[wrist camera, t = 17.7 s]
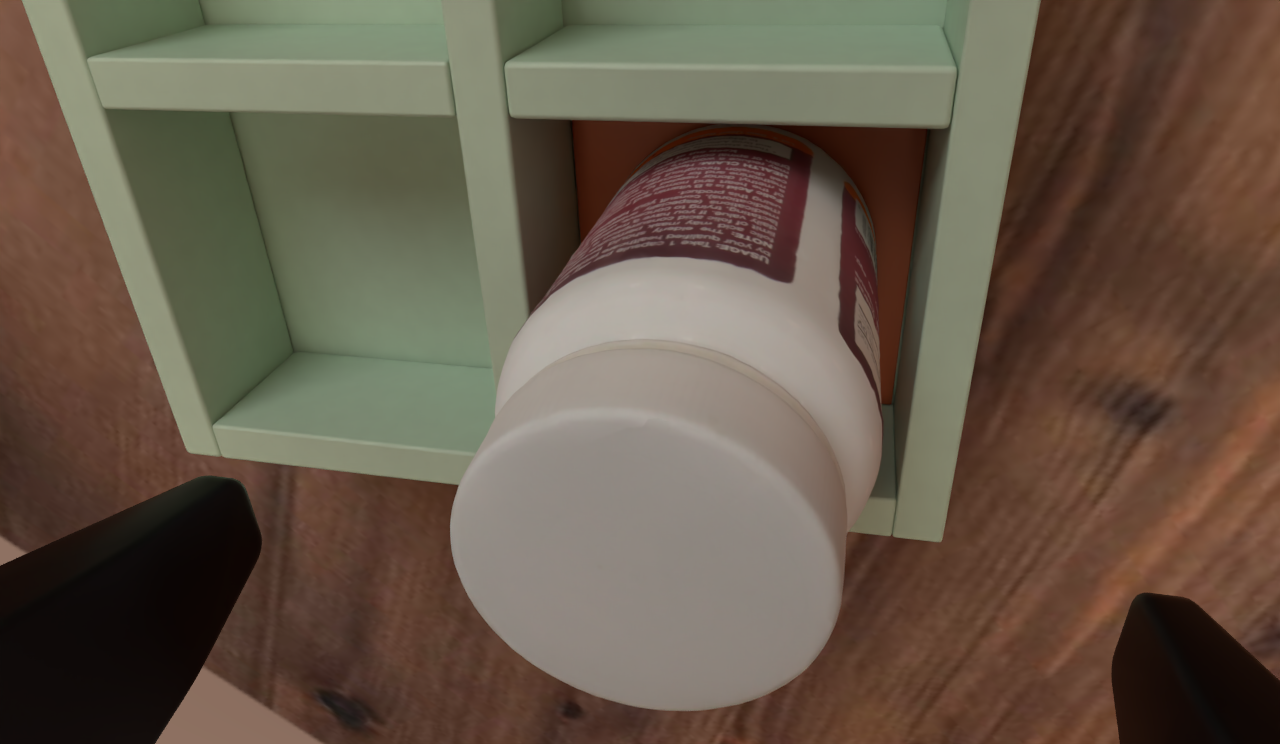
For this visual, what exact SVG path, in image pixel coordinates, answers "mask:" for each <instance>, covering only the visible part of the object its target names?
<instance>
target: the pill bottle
mask: <svg viewBox="0 0 1280 744" xmlns="http://www.w3.org/2000/svg"><path fill="white" fill-rule="evenodd" d="M878 311H879V304H878V284H877V252H876V240H875V232H874V227H873V223H872V219H871V216H870V213H869V211H868V208H867V206H866V204H865V201H864V199H863V197H862V195H861V194H860V192H859V190H858V188H857V187H856V185H855V184H854V182H853V181H852V179H851V178H850V177H849V176H848V174H847V173H846V172H845V171H844V170H843V168H842V167H841V166H840V165H839V164H838V163H837V162H835V161H834V160H833V159H832V158H831V157H830V156H829V155H828V154H827V153H826V152H824V151H823V150H822V149H821V148H819V147H818V146H816V145H814V144H813V143H811V142H810V141H808V140H807V139H805V138H803V137H800V136H798V135H796V134H793V133H791V132H788V131H785V130H782V129H779V128H775V127H770V126H765V125H755V124H716V125H711V126H706V127H702V128H698V129H695V130H692V131H689V132H687V133H684V134H682V135H680V136H678V137H676V138H674V139H672V140H670V141H668V142H666V143H665V144H663V145H662V146H660V147H659V148H658V149H656V150H655V151H653V152H652V153H651V154H650V155H649V156H648V157H647V158H645V159H644V160H643V161H642V162H641V163H640V164H639V165H638V166H637V167H636V168H635V170H634V171H633V172H632V173H631V175H630V176H629V177H628V179H627V180H626V181H625V183H624V184H623V186H622V187H621V188H620V189H619V191H618V192H617V193H616V195H615V196H614V198H613V199H612V201H611V202H610V203H609V205H608V206H607V208H606V209H605V211H604V212H603V214H602V215H601V217H600V218H599V219H598V221H597V222H596V224H595V225H594V227H593V228H592V229H591V231H590V232H589V233H588V235H587V236H586V238H585V239H584V241H583V242H582V243H581V245H580V246H579V248H578V249H577V250H576V251H575V253H574V254H573V255H572V256H571V258H570V260H569V261H568V263H567V265H566V266H565V267H564V269H563V270H562V272H561V273H560V275H559V276H558V278H557V279H556V280H555V282H554V283H553V285H552V286H551V288H550V289H549V290H548V292H547V293H546V295H545V296H544V297H543V298H542V300H541V301H540V302H539V303H538V304H537V306H536V307H535V308H534V310H533V311H532V312H531V314H530V316H529V317H528V319H527V320H526V322H525V323H524V325H523V326H522V327H521V329H520V330H519V332H518V333H517V335H516V336H515V338H514V340H513V341H512V344H511V346H510V348H509V351H508V354H507V357H506V360H505V362H504V365H503V368H502V372H501V376H500V380H499V383H498V388H497V396H496V404H495V419H494V421H493V423H492V425H491V426H490V429H489V431H488V433H487V435H486V437H485V439H484V440H483V442H482V444H481V445H480V447H479V449H478V451H477V452H476V454H475V456H474V458H473V459H472V461H471V463H470V465H469V466H468V468H467V470H466V472H465V473H464V475H463V477H462V479H461V481H460V484H459V487H458V490H457V493H456V496H455V499H454V503H453V507H452V512H451V521H450V536H451V548H452V554H453V559H454V563H455V567H456V569H457V572H458V574H459V577H460V579H461V582H462V584H463V586H464V588H465V590H466V592H467V594H468V596H469V598H470V600H471V601H472V603H473V605H474V606H475V608H476V609H477V610H478V612H479V613H480V614H481V616H482V617H483V618H484V620H485V621H486V622H487V624H488V625H489V626H490V627H491V628H492V630H493V631H494V632H495V633H496V634H497V635H498V636H499V637H501V638H502V639H503V640H504V641H505V642H506V643H507V644H508V645H509V646H510V647H511V648H512V649H513V650H514V651H515V652H517V653H518V654H520V655H521V656H522V657H523V658H525V659H526V660H527V661H529V662H530V663H532V664H533V665H535V666H536V667H538V668H539V669H541V670H543V671H544V672H546V673H548V674H550V675H551V676H553V677H555V678H557V679H559V680H561V681H563V682H565V683H567V684H569V685H571V686H573V687H575V688H577V689H579V690H582V691H585V692H587V693H589V694H591V695H594V696H597V697H601V698H604V699H606V700H611V701H615V702H618V703H621V704H625V705H630V706H634V707H640V708H647V709H655V710H668V711H700V710H709V709H715V708H722V707H728V706H733V705H738V704H742V703H744V702H748V701H752V700H754V699H757V698H759V697H762V696H764V695H767V694H769V693H771V692H773V691H774V690H776V689H778V688H780V687H782V686H784V685H786V684H787V683H789V682H790V681H792V680H793V679H794V678H796V677H797V676H799V675H800V674H801V673H802V672H803V671H805V670H806V669H807V668H808V667H809V666H810V664H811V663H812V662H813V661H814V660H815V659H816V658H817V656H818V655H819V654H820V652H821V651H822V650H823V648H824V646H825V644H826V643H827V641H828V639H829V637H830V635H831V633H832V631H833V629H834V627H835V624H836V621H837V618H838V615H839V611H840V607H841V601H842V592H843V583H844V570H845V553H846V537H847V533H848V531H849V530H850V529H851V528H852V526H853V525H854V524H855V522H856V521H857V519H858V518H859V516H860V514H861V512H862V511H863V509H864V507H865V505H866V503H867V501H868V499H869V496H870V494H871V492H872V489H873V487H874V485H875V482H876V479H877V475H878V472H879V468H880V463H881V458H882V444H883V416H882V406H881V382H880V340H879V315H878Z"/></svg>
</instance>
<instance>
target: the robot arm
mask: <svg viewBox="0 0 1280 744" xmlns="http://www.w3.org/2000/svg"><path fill="white" fill-rule="evenodd" d="M261 546H262V536H261V532H260V529H259V526H258V523H257V520H256V517H255V514H254V511H253V508H252V505H251V502H250V499H249V496H248V494H247V491H246V489H245V487H244V485H243V484H242V483H241V482H240V481H238V480H236V479H233V478H225V477H217V476H201V477H198V478H195V479H193V480H191V481H189V482H186V483H184V484H182V485H180V486H177V487H175V488H173V489H171V490H168V491H166V492H164V493H162V494H160V495H157V496H155V497H153V498H151V499H148V500H146V501H144V502H142V503H139V504H137V505H135V506H133V507H130V508H128V509H126V510H124V511H121V512H119V513H117V514H115V515H113V516H110V517H108V518H106V519H104V520H101V521H99V522H97V523H95V524H92V525H90V526H88V527H86V528H83V529H81V530H79V531H77V532H74V533H72V534H70V535H68V536H65V537H63V538H61V539H59V540H57V541H54V542H52V543H50V544H48V545H45V546H43V547H41V548H39V549H36V550H34V551H32V552H30V553H27V554H25V555H23V556H21V557H19V558H16V559H14V560H12V561H10V562H7V563H5V564H3V565H1V566H0V744H155V743H156V741H157V739H158V738H159V736H160V735H161V733H162V732H163V730H164V729H165V727H166V725H167V724H168V722H169V721H170V719H171V718H172V716H173V715H174V713H175V711H176V710H177V708H178V707H179V705H180V704H181V702H182V700H183V699H184V697H185V696H186V694H187V692H188V691H189V689H190V687H191V686H192V684H193V683H194V681H195V679H196V677H197V676H198V674H199V672H200V670H201V668H202V666H203V665H204V663H205V661H206V659H207V657H208V655H209V653H210V651H211V650H212V648H213V646H214V644H215V642H216V640H217V638H218V636H219V634H220V632H221V630H222V628H223V626H224V624H225V622H226V620H227V618H228V616H229V615H230V613H231V611H232V609H233V607H234V605H235V603H236V601H237V599H238V597H239V595H240V593H241V591H242V589H243V587H244V585H245V583H246V581H247V580H248V578H249V576H250V574H251V572H252V570H253V568H254V566H255V564H256V562H257V560H258V558H259V555H260V551H261ZM1112 687H1113V694H1114V702H1115V710H1116V717H1117V725H1118V732H1119V740H1120V744H1280V680H1278V679H1277V678H1276V677H1275V676H1274V675H1273V674H1272V673H1271V672H1270V671H1269V670H1268V669H1267V668H1266V667H1264V666H1263V665H1262V664H1261V663H1260V662H1259V661H1258V660H1257V659H1256V658H1255V657H1254V656H1253V655H1251V654H1250V653H1249V652H1248V651H1247V650H1246V649H1245V648H1244V647H1243V646H1242V645H1241V644H1240V643H1238V642H1237V641H1236V640H1235V639H1234V638H1233V637H1232V636H1231V635H1230V634H1229V633H1228V632H1227V631H1226V630H1224V629H1223V628H1222V627H1221V626H1220V625H1219V624H1218V623H1217V622H1216V621H1215V620H1214V619H1213V618H1211V617H1210V616H1209V615H1208V614H1207V613H1206V612H1205V611H1204V610H1203V609H1202V608H1201V607H1200V606H1198V605H1197V604H1196V603H1195V602H1193V601H1191V600H1190V599H1187V598H1184V597H1178V596H1170V595H1162V594H1154V593H1142V594H1139V595H1137V596H1136V597H1135V599H1134V600H1133V601H1132V603H1131V606H1130V609H1129V612H1128V614H1127V617H1126V620H1125V623H1124V626H1123V629H1122V632H1121V635H1120V638H1119V641H1118V644H1117V646H1116V649H1115V652H1114V656H1113V661H1112Z"/></svg>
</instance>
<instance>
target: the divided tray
mask: <svg viewBox="0 0 1280 744" xmlns="http://www.w3.org/2000/svg"><path fill="white" fill-rule="evenodd" d="M22 2H23V5H24V7H25V10H26V13H27V16H28V18H29V21H30V24H31V26H32V29H33V32H34V35H35V37H36V40H37V43H38V46H39V48H40V51H41V54H42V57H43V59H44V62H45V65H46V67H47V70H48V73H49V76H50V78H51V81H52V84H53V87H54V89H55V92H56V95H57V97H58V100H59V103H60V106H61V108H62V111H63V114H64V117H65V119H66V122H67V125H68V128H69V130H70V133H71V136H72V138H73V141H74V144H75V147H76V149H77V152H78V155H79V158H80V160H81V163H82V166H83V169H84V171H85V174H86V177H87V179H88V182H89V185H90V188H91V190H92V193H93V196H94V199H95V201H96V204H97V207H98V209H99V212H100V215H101V218H102V220H103V223H104V226H105V229H106V231H107V234H108V237H109V240H110V242H111V245H112V248H113V250H114V253H115V256H116V259H117V261H118V264H119V267H120V270H121V272H122V275H123V278H124V281H125V283H126V286H127V289H128V291H129V294H130V297H131V300H132V302H133V305H134V308H135V311H136V313H137V316H138V319H139V321H140V324H141V327H142V330H143V332H144V335H145V338H146V341H147V343H148V346H149V349H150V352H151V354H152V357H153V360H154V362H155V365H156V368H157V371H158V373H159V376H160V379H161V382H162V384H163V387H164V390H165V393H166V395H167V398H168V401H169V403H170V406H171V409H172V412H173V414H174V417H175V420H176V423H177V425H178V428H179V431H180V433H181V436H182V439H183V442H184V444H185V447H186V450H187V451H188V452H189V453H192V454H201V455H209V456H221V455H222V456H223V457H225V458H233V459H241V460H250V461H258V462H267V463H275V464H284V465H292V466H301V467H309V468H318V469H326V470H335V471H343V472H351V473H360V474H368V475H377V476H385V477H394V478H402V479H411V480H419V481H428V482H436V483H445V484H453V485H459V484H460V481H461V479H462V477H463V475H464V473H465V472H466V470H467V468H468V466H469V465H470V463H471V461H472V459H473V458H474V456H475V454H476V452H477V451H478V449H479V447H480V445H481V444H482V442H483V440H484V439H485V437H486V435H487V433H488V431H489V429H490V426H491V425H492V423H493V421H494V419H495V404H496V396H497V388H498V383H499V380H500V376H501V372H502V368H503V365H504V362H505V360H506V357H507V354H508V351H509V348H510V346H511V344H512V341H513V340H514V338H515V336H516V335H517V333H518V332H519V330H520V329H521V327H522V326H523V325H524V323H525V322H526V320H527V319H528V317H529V316H530V314H531V312H532V311H533V310H534V308H535V307H536V306H537V304H538V303H539V302H540V301H541V300H542V298H543V297H544V296H545V295H546V293H547V292H548V290H549V289H550V288H551V286H552V285H553V283H554V282H555V280H556V279H557V278H558V276H559V275H560V273H561V272H562V270H563V269H564V267H565V266H566V265H567V263H568V261H569V260H570V258H571V256H572V255H573V254H574V253H575V251H576V250H577V249H578V248H579V246H580V245H581V243H582V242H583V241H584V239H585V238H586V236H587V235H588V233H589V232H590V231H591V229H592V228H593V227H594V225H595V224H596V222H597V221H598V219H599V218H600V217H601V215H602V214H603V212H604V211H605V209H606V208H607V206H608V205H609V203H610V202H611V201H612V199H613V198H614V196H615V195H616V193H617V192H618V191H619V189H620V188H621V187H622V186H623V184H624V183H625V181H626V180H627V179H628V177H629V176H630V175H631V173H632V172H633V171H634V170H635V168H636V167H637V166H638V165H639V164H640V163H641V162H642V161H643V160H644V159H645V158H647V157H648V156H649V155H650V154H651V153H652V152H653V151H655V150H656V149H658V148H659V147H660V146H662V145H663V144H665V143H666V142H668V141H670V140H672V139H674V138H676V137H678V136H680V135H682V134H684V133H687V132H689V131H692V130H695V129H698V128H702V127H706V126H711V125H716V124H755V125H765V126H770V127H775V128H779V129H782V130H785V131H788V132H791V133H793V134H796V135H798V136H800V137H803V138H805V139H807V140H808V141H810V142H811V143H813V144H814V145H816V146H818V147H819V148H821V149H822V150H823V151H824V152H826V153H827V154H828V155H829V156H830V157H831V158H832V159H833V160H834V161H835V162H837V163H838V164H839V165H840V166H841V167H842V168H843V170H844V171H845V172H846V173H847V174H848V176H849V177H850V178H851V179H852V181H853V182H854V184H855V185H856V187H857V188H858V190H859V192H860V194H861V195H862V197H863V199H864V201H865V204H866V206H867V208H868V211H869V213H870V216H871V219H872V223H873V227H874V232H875V240H876V252H877V284H878V304H879V311H878V315H879V340H880V382H881V406H882V416H883V444H882V458H881V463H880V468H879V472H878V475H877V479H876V482H875V485H874V487H873V489H872V492H871V494H870V496H869V499H868V501H867V503H866V505H865V507H864V509H863V511H862V512H861V514H860V516H859V518H858V519H857V521H856V522H855V524H854V525H853V526H852V528H851V529H850V530H849V531H848V532H857V533H865V534H874V535H882V536H891V534H893V536H894V537H898V538H906V539H915V540H923V541H932V542H941V541H942V539H943V533H944V528H945V522H946V517H947V511H948V506H949V500H950V495H951V489H952V484H953V478H954V473H955V467H956V462H957V456H958V451H959V446H960V440H961V435H962V429H963V424H964V418H965V413H966V407H967V402H968V396H969V391H970V385H971V380H972V374H973V369H974V363H975V358H976V353H977V347H978V342H979V336H980V331H981V325H982V320H983V314H984V309H985V303H986V298H987V292H988V287H989V281H990V276H991V271H992V265H993V260H994V254H995V249H996V243H997V238H998V232H999V227H1000V221H1001V216H1002V210H1003V205H1004V199H1005V194H1006V188H1007V183H1008V178H1009V172H1010V167H1011V161H1012V156H1013V150H1014V145H1015V139H1016V134H1017V128H1018V123H1019V117H1020V112H1021V106H1022V101H1023V95H1024V90H1025V85H1026V79H1027V74H1028V68H1029V63H1030V57H1031V52H1032V46H1033V41H1034V35H1035V30H1036V24H1037V19H1038V13H1039V8H1040V3H1041V0H22Z"/></svg>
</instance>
